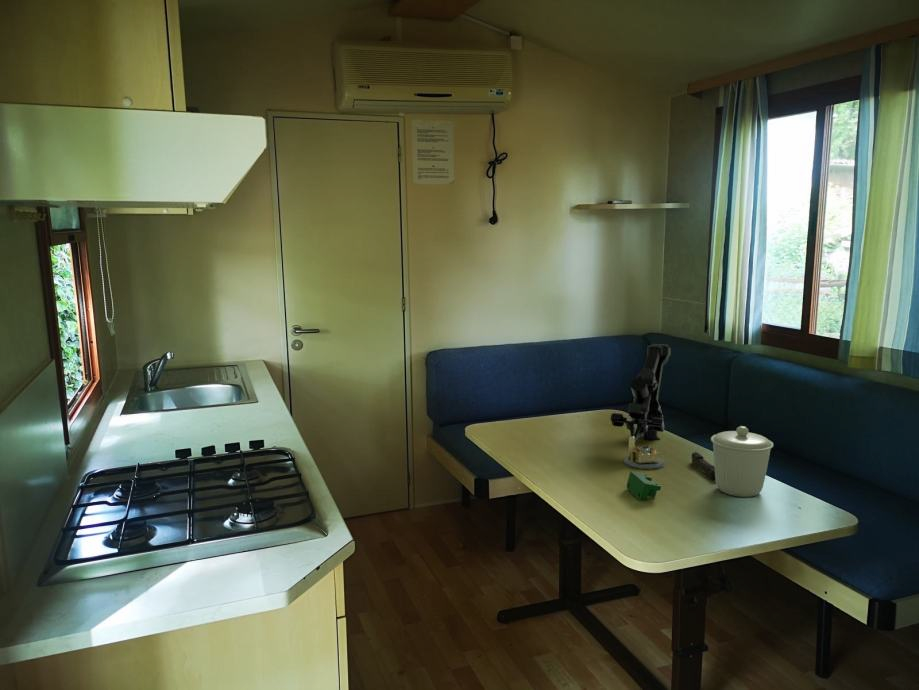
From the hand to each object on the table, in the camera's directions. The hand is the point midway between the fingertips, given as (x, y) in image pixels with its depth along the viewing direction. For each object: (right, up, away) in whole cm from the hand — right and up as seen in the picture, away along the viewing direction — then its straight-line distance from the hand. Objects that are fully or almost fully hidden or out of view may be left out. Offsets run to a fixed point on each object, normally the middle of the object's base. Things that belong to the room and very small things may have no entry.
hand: (632, 442), depth 252 cm
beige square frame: (+2, -5, -5) cm, 7 cm away
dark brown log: (+21, -8, -13) cm, 26 cm away
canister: (+25, -11, -32) cm, 42 cm away
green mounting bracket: (-5, -12, -34) cm, 36 cm away
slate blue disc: (+3, -7, -4) cm, 9 cm away
